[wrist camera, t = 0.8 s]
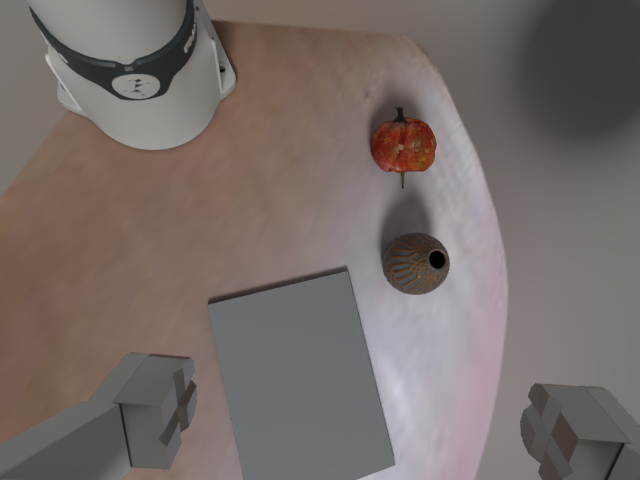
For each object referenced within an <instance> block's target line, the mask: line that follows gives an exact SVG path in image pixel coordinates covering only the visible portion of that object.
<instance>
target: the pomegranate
mask: <svg viewBox="0 0 640 480" xmlns="http://www.w3.org/2000/svg"><path fill="white" fill-rule="evenodd" d="M395 108H396V109H397V110H398V116H397V118H396V119H395V120H393V121H387V122H385V123H383V124H381V125H380V127H379V128H378V129H377V130H376V132H375V133H374V135H373V137H372V140H371V155H372V157H373V160H374V161H375V163H376V164H377V165H378V166H379V167H380V168H381V169H382V170H384V171H386V172H389V171H394V172H397V173H401V175H402V188H403V189H404V186H403V184H404V172H407V171H410V172H413V171H421V172H422V171H425V170H426V169H428V168H429V167H430V166H431V165H432V163H433V161H434V158H435V150H436V145H437V144H436V139H435V136H434V134H433V132H432V130H431V128H430V127H429V126H428V124H426V123H424V122H422V121H420V120H418V119H412V118H409V117H404V116H403V108H402V107H395Z"/></svg>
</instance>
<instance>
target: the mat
mask: <svg viewBox="0 0 640 480" xmlns="http://www.w3.org/2000/svg"><path fill="white" fill-rule="evenodd" d="M207 307H208V312H209V316H210V321H211V326H212V331H213V335H214V340H215V345H216V350H217V354H218V359H219V364H220V369H221V373H222V378H223V383H224V388H225V392H226V397H227V402H228V407H229V411H230V416H231V421H232V426H233V430H234V435H235V440H236V445H237V449H238V454H239V459H240V464H241V468H242V473H243V478H244V480H357V479H359V478H362V477H365V476H367V475H370V474H373V473H375V472H378V471H381V470H383V469H386V468H389V467H391V466H394V465H395V461H394V456H393V452H392V448H391V444H390V440H389V436H388V432H387V428H386V424H385V420H384V416H383V412H382V408H381V404H380V400H379V396H378V392H377V388H376V384H375V380H374V376H373V372H372V368H371V364H370V359H369V355H368V351H367V347H366V343H365V339H364V335H363V331H362V327H361V323H360V319H359V315H358V311H357V307H356V303H355V299H354V295H353V291H352V287H351V283H350V279H349V275H348V271H345V272H341V273H337V274H333V275H329V276H324V277H320V278H316V279H312V280H308V281H304V282H300V283H296V284H291V285H287V286H283V287H279V288H275V289H271V290H267V291H263V292H258V293H254V294H250V295H246V296H242V297H238V298H234V299H230V300H226V301H221V302H217V303H213V304H209V305H207Z"/></svg>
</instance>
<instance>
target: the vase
mask: <svg viewBox="0 0 640 480" xmlns="http://www.w3.org/2000/svg"><path fill="white" fill-rule="evenodd" d="M449 266H450V261H449V256H448V253H447V251H446V249H445V247H444V246H443V244H442V243H441V242H440V241H438V240H437V239H436V238H434V237H432V236H430V235H427V234H423V233H409V234H405V235H403V236H401V237H399V238H397V239H395V240H394V241H393V242H392V243H391V244H390V245H389V246H388V248H387V249H386V251H385V253H384V256H383V261H382V267H383V272H384V275H385V277H386V279H387V280H388V282H389V283H390V284H391V285H392V286H393V287H394V288H396V289H397V290H399V291H401V292H403V293H406V294H412V295H420V294H425V293H428V292H431V291H433V290H435V289H436V288H437V287H439V286H440V285H441V284H442V283H443V281H444V280H445V279H446V277H447V275H448V272H449Z"/></svg>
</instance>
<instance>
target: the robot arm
mask: <svg viewBox="0 0 640 480" xmlns="http://www.w3.org/2000/svg"><path fill="white" fill-rule="evenodd" d="M25 1H26V2H27V3H28V4H29V8H30V11H31V13H32V16H33V18H34V20H35V22H36V24H37V26H38V28H39V30H40V32H41V34H42V35H43V37H44V39H45V42H46V44H47V45H48V54H46V55H45V57H46V60H47V63H48V64H49V66H50V67H51V69H52V71H53V72H54V73H55V75H56V76H57V78H58V88H57V96H58V99H59V101H60V102H61V104H62V105H63V106H64V107H65V108H67V109H68V110H70V111H72V112H75V113H77V114H80V115H82V116H85V117H87V118H89V119H90V120H91V121H93V122H94V123H95V124H96V125H97V126H98V127H99V128H100V129H101V130H102V131H103V132H105V133H106V134H107V135H108V136H110V137H111V138H113V139H115V140H117V141H118V142H121V143H123V144H125V145H128V146H131V147H135V148H139V149H147V150H160V149H168V148H172V147H176V146H179V145H181V144H184V143H186V142H188V141H190V140H191V139H193V138H194V137H196V136H197V135H198V134H200V133H201V132H202V131H203V130H204V129H205V128H206V126H207V125H208V124H209V122H210V121H211V119H212V117H213V115H214V113H215V111H216V109H217V107H218V105H219V103H220V102H221V100H222V99H224V98H225V97H226V96H227V95H229V94H230V93H231V92H232V91H233V90H234V88H235V87H236V84H237V81H236V76H235V73H234V71H233V69H232V67H231V64H230V62H229V60H228V58H227V56H226V53H225V51H224V49H223V47H222V45H221V42H220V40H219V38H218V36H217V34H216V31H215V29H214V27H213V25H212V23H211V20H210V18H209V16H208V14H207V12H206V10H205V7H204V5H203V3H202V1H201V0H25ZM220 69H223V70H225V72H223V73H221V72H220ZM194 373H195V364H194V360H193V359H192V358H191V357H182V356H172V355H162V354H148V353H138V352H130V353H128V354H126V355H125V356H124V357H123V359H122V360H121V361H120V362H119V363H118V365H117V366H116V367H115V368H114V370H113V371H112V372H111V373H110V375H109V376H108V377H107V378H106V379H105V381H104V382H103V383H102V384H101V386H100V387H99V388H98V389H97V391H96V392H95V393H94V394H93V395H92V397H91V398H90V399H89V400H88V401H80V402H78V403H76V404H74V405H72V406H71V407H69V408H67V409H65V410H63V411H61V412H59V413H57V414H56V415H54V416H52V417H50V418H48V419H46V420H44V421H42V422H41V423H39V424H37V425H35V426H33V427H31V428H29V429H27V430H26V431H24V432H22V433H20V434H18V435H16V436H14V437H12V438H11V439H9V440H7V441H5V442H3V443H1V444H0V480H120V479H121V478H122V477H123V476H125V475H126V474H127V473H128V472H129V471H130V470H131V467H133V468H152V469H170V468H171V465H172V463H173V461H174V459H175V457H176V454H177V452H178V450H179V448H180V446H181V443H182V442H181V432H182V431H184V430H185V429H187V428H188V427H189V425H190V423H191V421H192V418H193V416H194V412H195V408H196V404H197V385H196V384H195V383H194V382H193V381H192V380H191V379H192V377H193V375H194ZM528 397H529V399H530V401H531V402H532V404H531V405H530V406H529V407H528V408H526V409H525V410H524V411H523V414H522V418H521V421H520V426H521V436H522V439H523V443H524V445H525V447H526V449H527V451H528V453H529V454H530V455H531V456H532V457H533V458H535V459H536V460H537V461H538V462H540V467H539V471H538V473H539V475H540V477H541V479H542V480H640V425H639V424H638V423H637V422H636V421H635V420H634V419H633V417H632V416H631V415H630V414H629V413H628V412H627V411H626V410H625V409H624V407H623V406H622V405H621V404H620V403H619V402H618V401H617V399H616V398H615V397H614V396H613V395H612V394H611V393H610V392H609V391H608V390H606V389H604V388H603V387H591V386H569V385H554V384H540V383H535V384H534V385H533V386H532V387H531V389H530V392H529V395H528Z"/></svg>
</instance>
